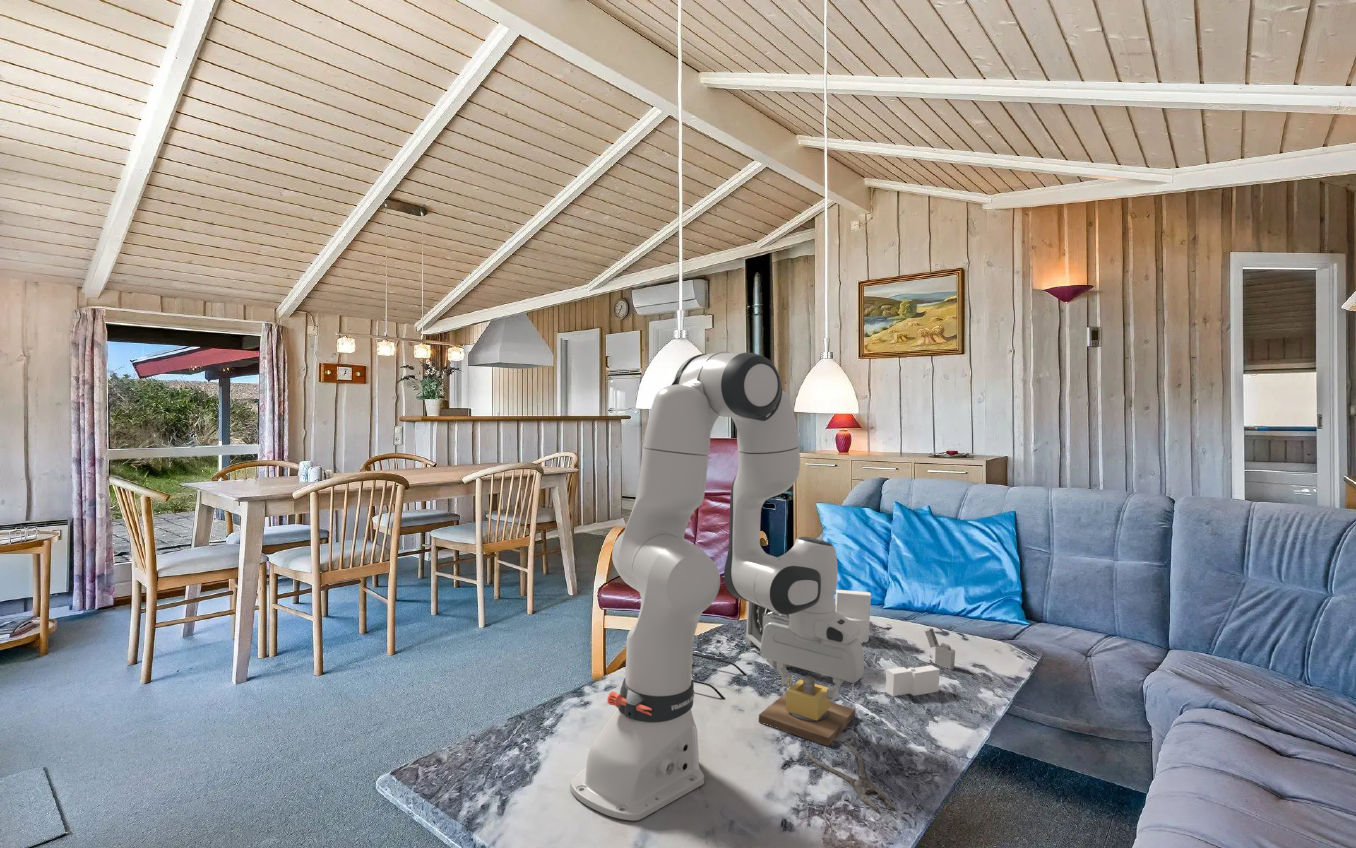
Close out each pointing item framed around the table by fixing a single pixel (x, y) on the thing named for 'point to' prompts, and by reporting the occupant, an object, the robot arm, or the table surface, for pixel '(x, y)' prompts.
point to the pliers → (857, 781)
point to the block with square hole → (807, 701)
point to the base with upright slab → (855, 609)
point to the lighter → (941, 651)
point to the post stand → (806, 727)
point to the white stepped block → (912, 680)
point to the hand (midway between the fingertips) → (808, 691)
